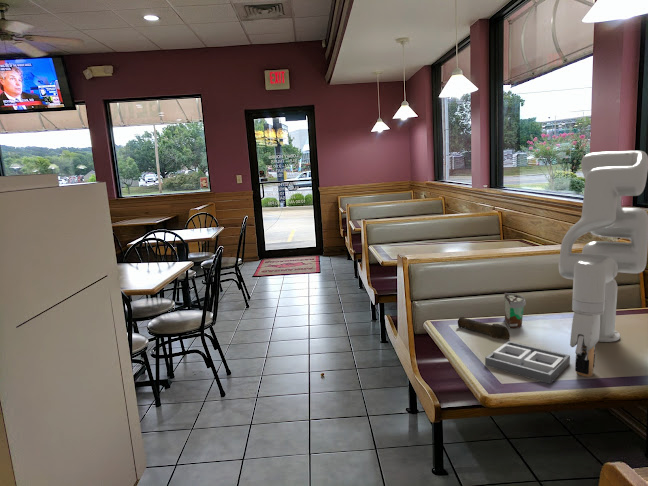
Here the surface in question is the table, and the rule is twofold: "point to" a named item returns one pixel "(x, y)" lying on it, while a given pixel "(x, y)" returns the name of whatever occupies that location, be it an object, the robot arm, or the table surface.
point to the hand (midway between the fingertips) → (584, 368)
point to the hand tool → (485, 328)
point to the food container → (514, 309)
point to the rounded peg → (591, 361)
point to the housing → (528, 361)
